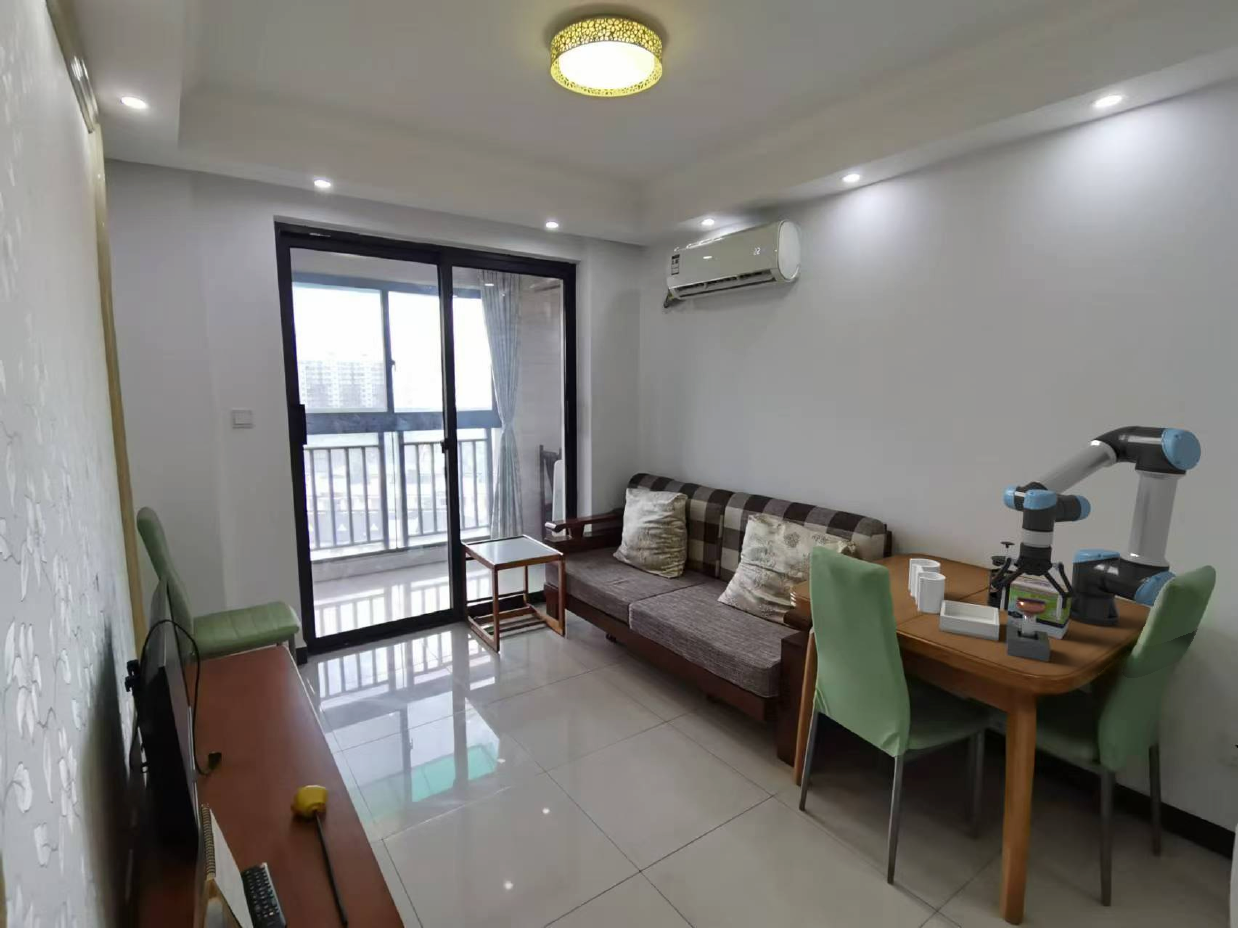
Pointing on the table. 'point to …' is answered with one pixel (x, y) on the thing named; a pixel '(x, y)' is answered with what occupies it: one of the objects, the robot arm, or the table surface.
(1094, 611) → the robot arm
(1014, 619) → the tea box
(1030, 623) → the copper slotted screw
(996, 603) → the french press
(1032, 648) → the block
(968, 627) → the tray
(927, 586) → the bracket
